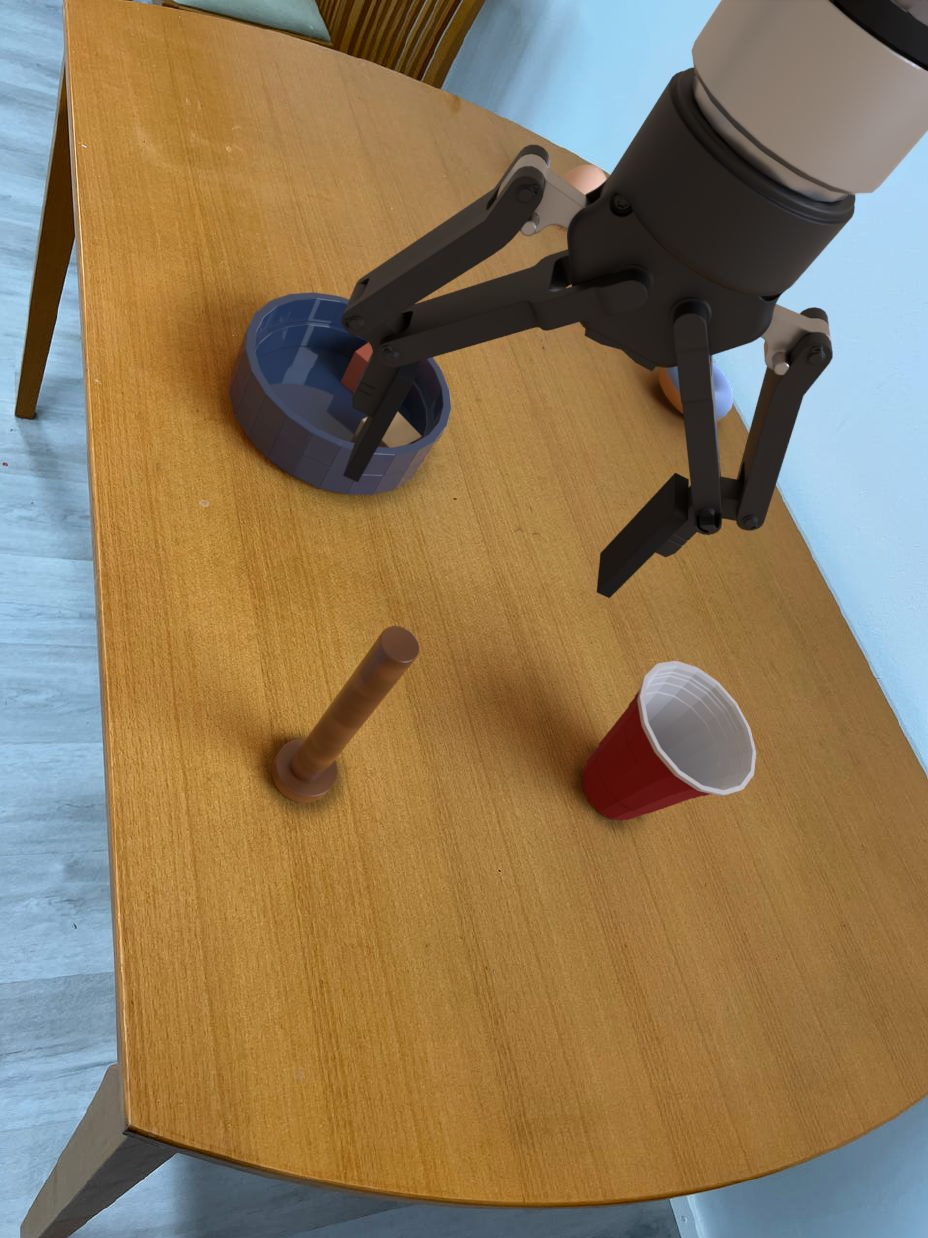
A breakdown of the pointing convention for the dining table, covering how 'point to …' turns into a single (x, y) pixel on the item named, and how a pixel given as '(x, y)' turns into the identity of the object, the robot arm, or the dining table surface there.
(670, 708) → the plastic cup
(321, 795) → the muddler
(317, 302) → the bowl
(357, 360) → the terracotta block
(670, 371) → the doughnut
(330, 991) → the dining table surface
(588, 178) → the egg
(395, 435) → the birch block
